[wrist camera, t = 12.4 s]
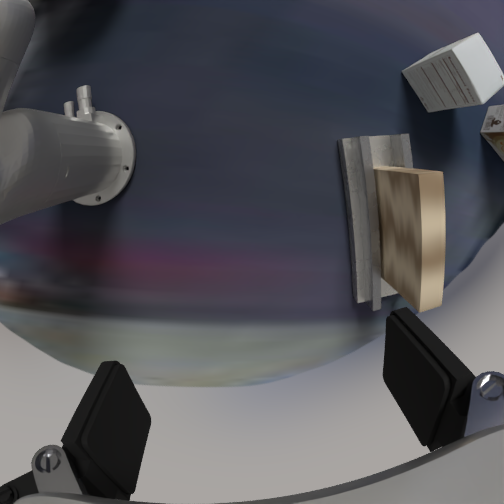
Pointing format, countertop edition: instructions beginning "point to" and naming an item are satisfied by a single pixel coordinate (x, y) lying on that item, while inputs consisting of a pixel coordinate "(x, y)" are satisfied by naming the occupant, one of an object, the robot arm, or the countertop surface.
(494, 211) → the countertop surface
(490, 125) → the coffee box
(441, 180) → the door panel
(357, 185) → the door track
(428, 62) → the supplement box
